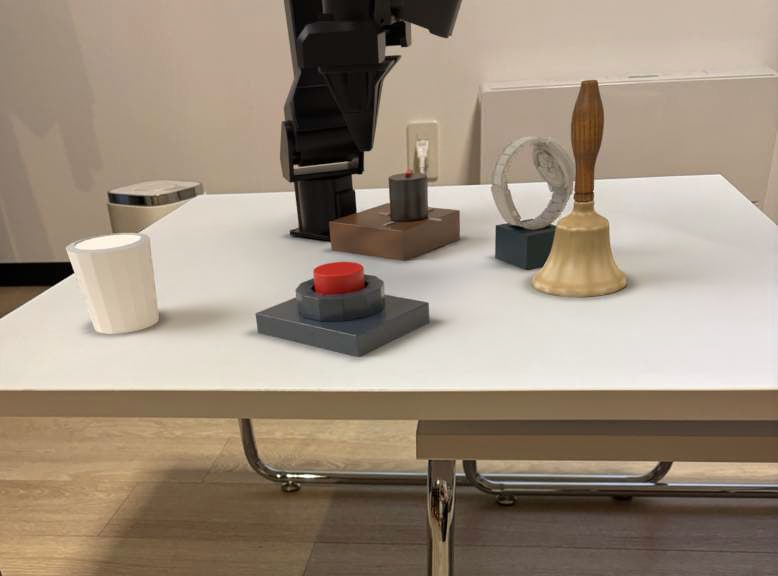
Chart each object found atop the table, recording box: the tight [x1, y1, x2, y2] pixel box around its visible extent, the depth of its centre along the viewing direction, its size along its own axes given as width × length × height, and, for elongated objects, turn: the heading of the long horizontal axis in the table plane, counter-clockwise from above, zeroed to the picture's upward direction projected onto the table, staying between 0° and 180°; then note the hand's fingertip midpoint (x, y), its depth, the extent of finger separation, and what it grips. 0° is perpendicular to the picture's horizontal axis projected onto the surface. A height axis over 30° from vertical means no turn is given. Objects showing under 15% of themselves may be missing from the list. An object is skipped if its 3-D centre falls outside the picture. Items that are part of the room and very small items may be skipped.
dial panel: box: [329, 202, 461, 262], centre depth 88 cm, size 11×10×3 cm
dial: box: [388, 169, 429, 221], centre depth 86 cm, size 4×4×4 cm
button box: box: [254, 273, 430, 358], centre depth 67 cm, size 11×9×4 cm
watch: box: [490, 135, 576, 271], centre depth 78 cm, size 6×8×11 cm
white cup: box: [65, 232, 160, 335], centre depth 71 cm, size 7×7×7 cm
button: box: [312, 261, 365, 294], centre depth 66 cm, size 4×4×2 cm
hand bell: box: [531, 79, 628, 298], centre depth 69 cm, size 8×8×16 cm
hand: (366, 150), depth 73 cm, fingers closed
